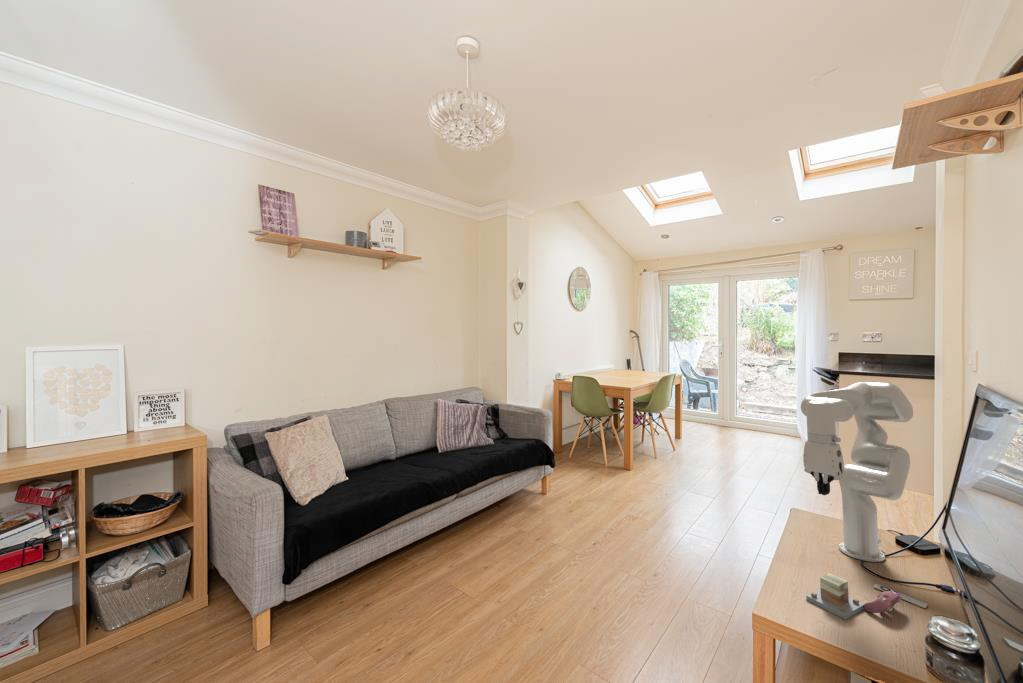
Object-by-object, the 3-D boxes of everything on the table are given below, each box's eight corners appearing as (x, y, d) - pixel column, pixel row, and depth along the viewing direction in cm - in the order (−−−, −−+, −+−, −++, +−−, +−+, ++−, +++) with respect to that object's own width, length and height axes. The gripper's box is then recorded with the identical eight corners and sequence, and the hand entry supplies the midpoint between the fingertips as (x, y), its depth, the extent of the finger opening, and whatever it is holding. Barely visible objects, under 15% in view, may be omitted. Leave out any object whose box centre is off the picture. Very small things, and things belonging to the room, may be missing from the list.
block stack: (829, 593, 121) (829, 573, 121) (848, 601, 117) (847, 581, 117) (820, 597, 119) (820, 577, 119) (839, 607, 115) (838, 585, 115)
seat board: (825, 590, 125) (825, 582, 125) (864, 608, 116) (864, 600, 116) (806, 599, 120) (806, 592, 120) (845, 619, 111) (845, 611, 111)
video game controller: (878, 623, 112) (892, 607, 109) (860, 607, 115) (873, 591, 113) (895, 611, 116) (908, 596, 113) (877, 597, 120) (889, 581, 117)
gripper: (854, 441, 127) (857, 499, 127) (803, 432, 141) (805, 485, 141) (841, 444, 124) (844, 503, 124) (790, 435, 138) (793, 489, 138)
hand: (823, 493), depth 132 cm, fingers closed
